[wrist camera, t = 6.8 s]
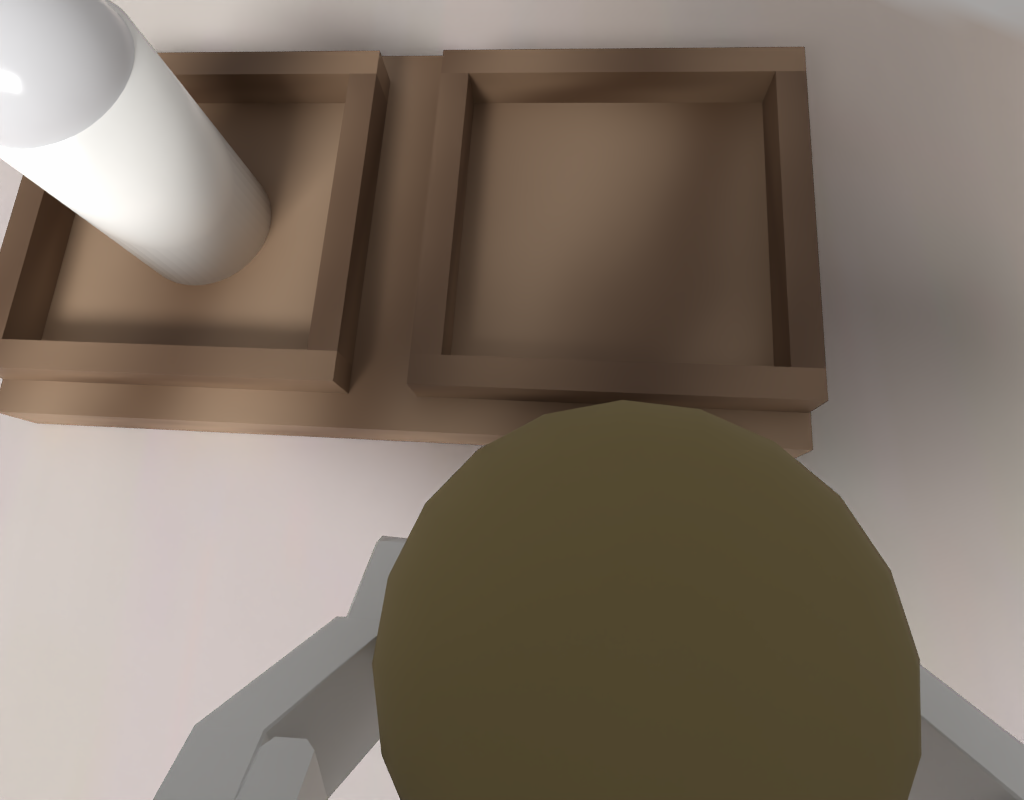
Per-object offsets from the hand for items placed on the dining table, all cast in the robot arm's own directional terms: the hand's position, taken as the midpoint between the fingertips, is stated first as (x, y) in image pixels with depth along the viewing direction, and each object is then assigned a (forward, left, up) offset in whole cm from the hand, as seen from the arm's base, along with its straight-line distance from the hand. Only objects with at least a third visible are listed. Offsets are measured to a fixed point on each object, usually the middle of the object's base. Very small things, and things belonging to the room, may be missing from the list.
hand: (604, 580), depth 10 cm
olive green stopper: (0, -1, -6) cm, 6 cm away
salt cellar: (-12, +9, -6) cm, 16 cm away
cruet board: (-6, +9, -7) cm, 13 cm away
